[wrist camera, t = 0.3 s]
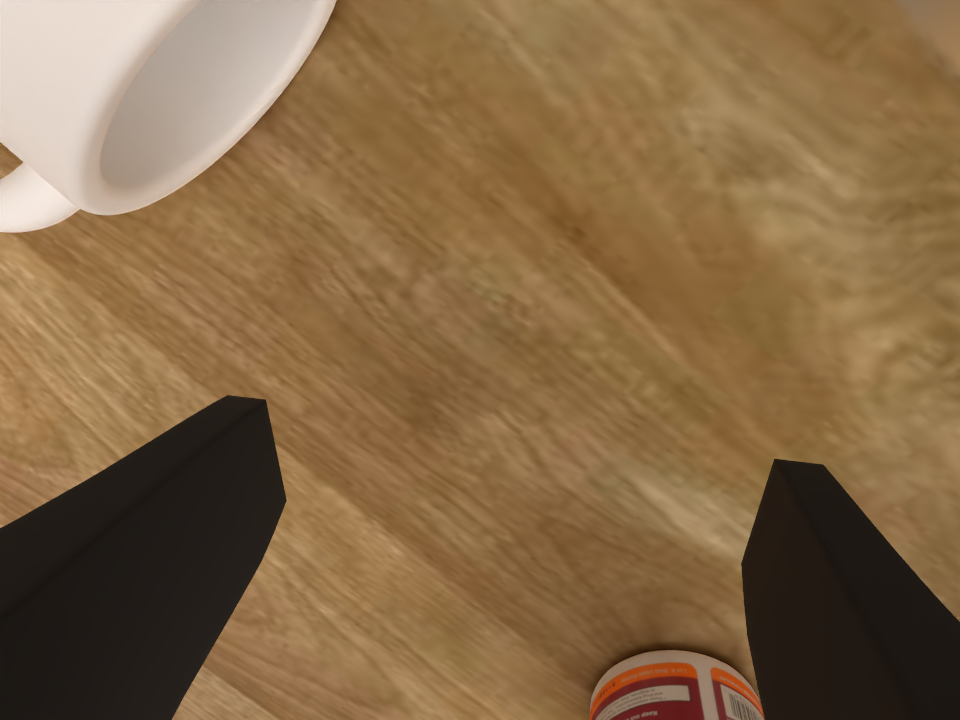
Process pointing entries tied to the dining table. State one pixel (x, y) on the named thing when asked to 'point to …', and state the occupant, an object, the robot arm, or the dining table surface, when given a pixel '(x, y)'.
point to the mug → (135, 95)
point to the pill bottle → (674, 690)
